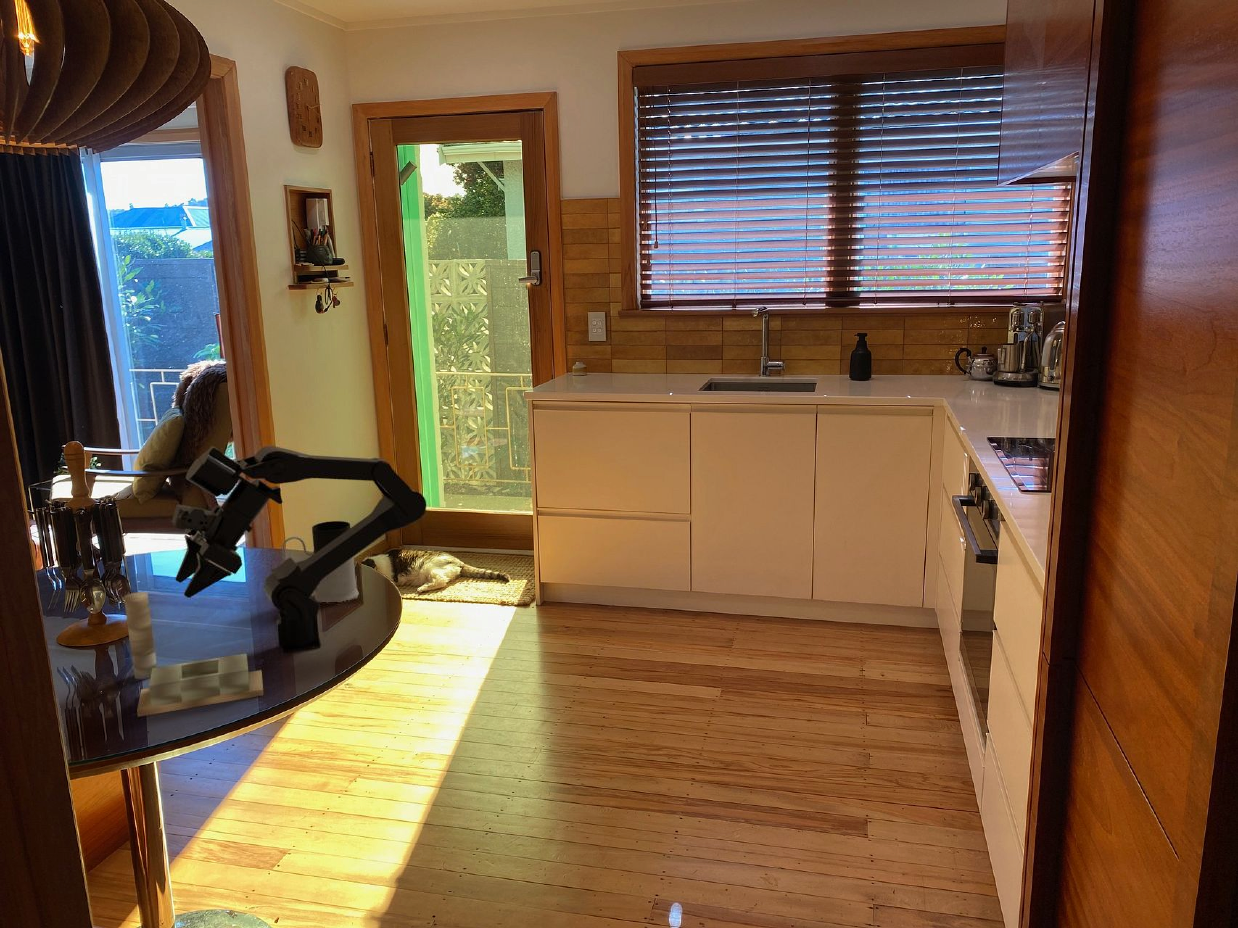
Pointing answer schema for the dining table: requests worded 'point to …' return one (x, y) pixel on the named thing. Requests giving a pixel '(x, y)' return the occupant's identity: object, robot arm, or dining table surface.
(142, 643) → the beige bar
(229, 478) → the robot arm
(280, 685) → the dining table surface
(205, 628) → the dining table surface
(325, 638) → the dining table surface
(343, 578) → the glass holder
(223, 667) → the checkered slab
